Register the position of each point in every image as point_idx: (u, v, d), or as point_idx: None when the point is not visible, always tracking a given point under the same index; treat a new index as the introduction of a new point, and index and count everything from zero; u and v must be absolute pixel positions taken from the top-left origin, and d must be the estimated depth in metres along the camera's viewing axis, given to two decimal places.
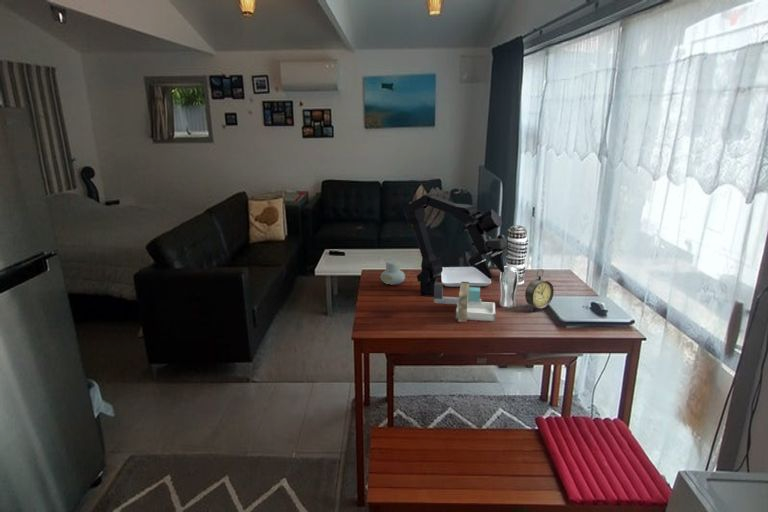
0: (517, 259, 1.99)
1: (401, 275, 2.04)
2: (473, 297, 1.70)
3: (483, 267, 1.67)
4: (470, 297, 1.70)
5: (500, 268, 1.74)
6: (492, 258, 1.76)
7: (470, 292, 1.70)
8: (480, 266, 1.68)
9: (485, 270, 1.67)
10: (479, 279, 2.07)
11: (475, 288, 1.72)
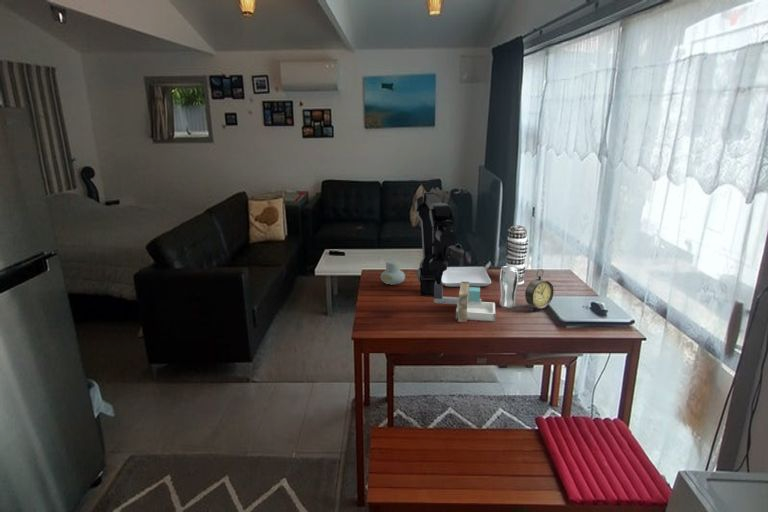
0: (517, 259, 1.99)
1: (401, 275, 2.04)
2: (473, 297, 1.70)
3: (438, 272, 1.66)
4: (470, 297, 1.70)
5: None
6: None
7: (470, 292, 1.70)
8: (435, 270, 1.66)
9: (438, 275, 1.67)
10: (479, 279, 2.07)
11: (475, 288, 1.72)
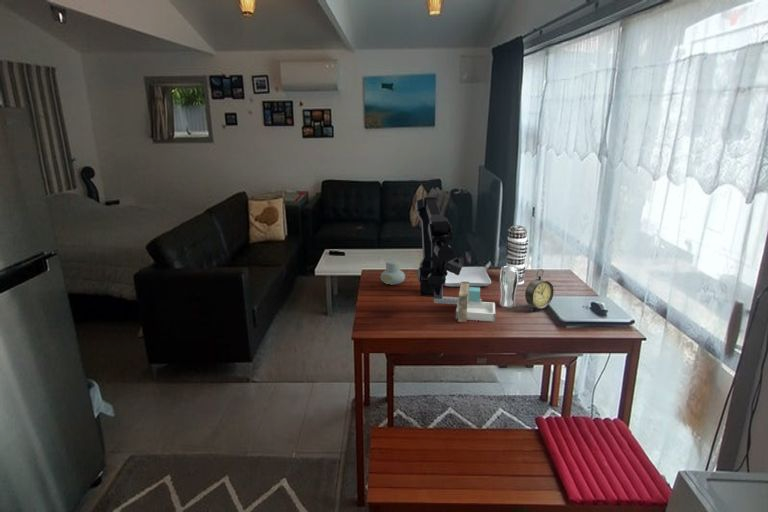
0: (517, 259, 1.99)
1: (401, 275, 2.04)
2: (473, 297, 1.70)
3: (437, 283, 1.71)
4: (470, 297, 1.70)
5: None
6: None
7: (470, 292, 1.70)
8: None
9: (437, 287, 1.71)
10: (479, 279, 2.07)
11: (475, 288, 1.72)
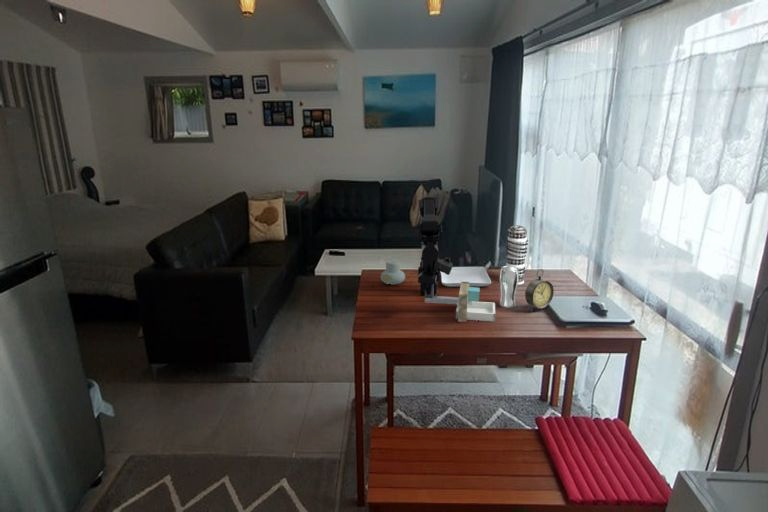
0: (517, 259, 1.99)
1: (401, 275, 2.04)
2: (472, 297, 1.70)
3: (427, 283, 1.71)
4: (469, 297, 1.71)
5: None
6: None
7: (469, 292, 1.70)
8: None
9: (428, 286, 1.72)
10: (479, 279, 2.07)
11: (475, 288, 1.72)
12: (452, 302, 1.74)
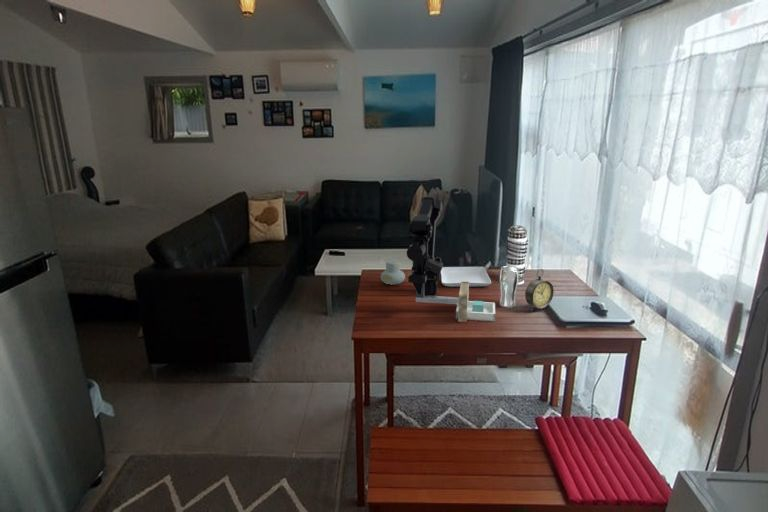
0: (517, 259, 1.99)
1: (401, 275, 2.04)
2: (477, 309, 1.71)
3: (418, 282, 1.72)
4: (476, 306, 1.71)
5: None
6: None
7: (482, 306, 1.71)
8: None
9: (419, 286, 1.72)
10: (479, 279, 2.07)
11: None
12: (443, 301, 1.74)
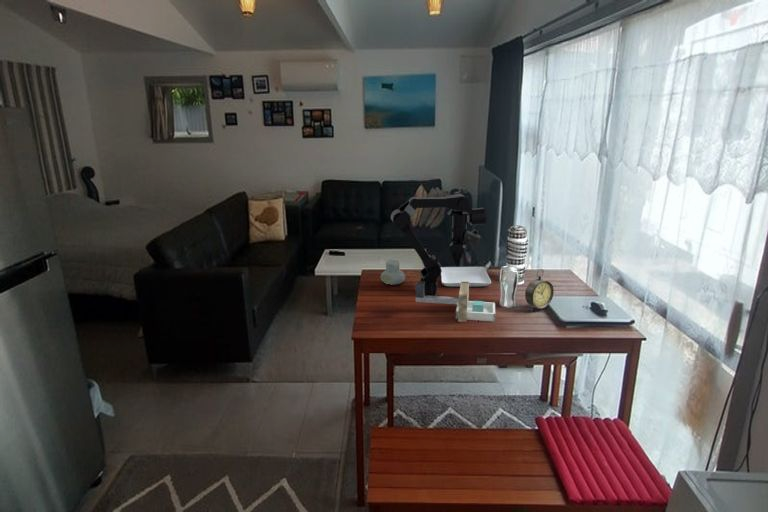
0: (517, 259, 1.99)
1: (401, 275, 2.04)
2: (477, 309, 1.71)
3: (457, 255, 1.86)
4: (476, 306, 1.71)
5: None
6: None
7: (482, 306, 1.71)
8: (455, 253, 1.85)
9: (457, 258, 1.86)
10: (479, 279, 2.07)
11: None
12: (443, 301, 1.74)
